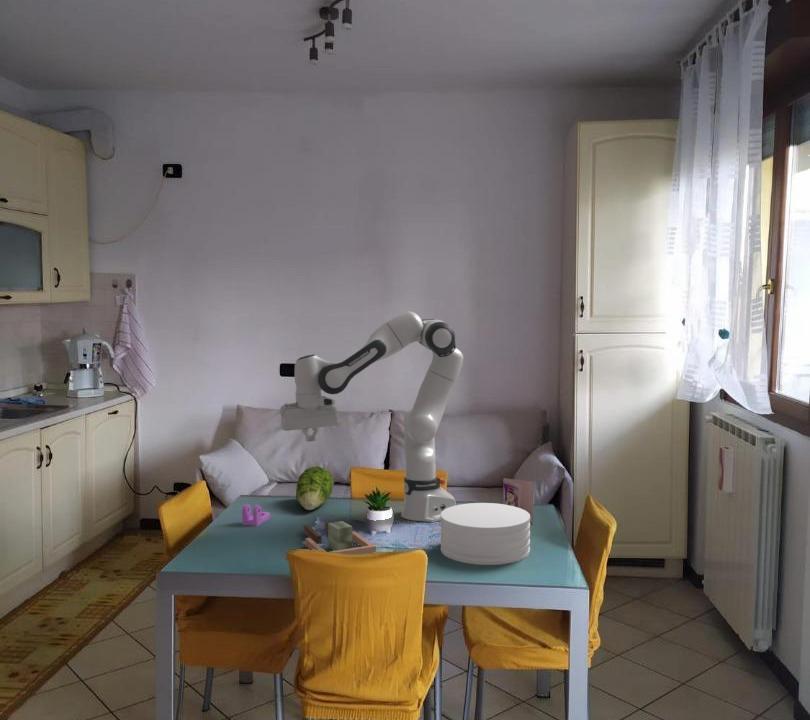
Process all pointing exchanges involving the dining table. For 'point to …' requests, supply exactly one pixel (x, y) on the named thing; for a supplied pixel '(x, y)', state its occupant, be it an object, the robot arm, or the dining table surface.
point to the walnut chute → (313, 533)
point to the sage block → (339, 536)
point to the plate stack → (485, 533)
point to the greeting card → (519, 495)
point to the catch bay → (365, 548)
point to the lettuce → (314, 487)
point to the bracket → (256, 517)
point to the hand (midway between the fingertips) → (310, 440)
